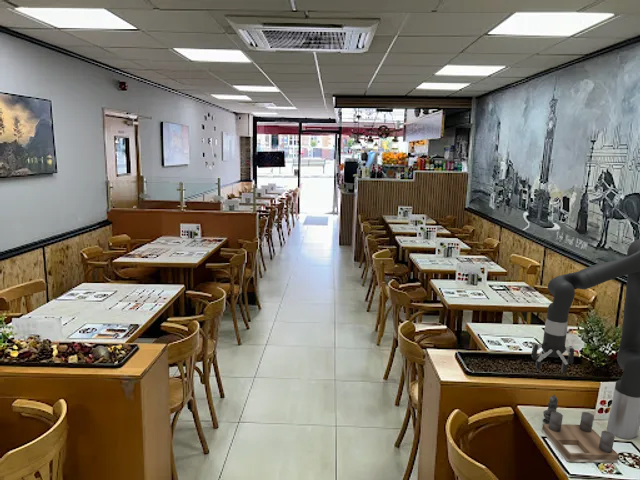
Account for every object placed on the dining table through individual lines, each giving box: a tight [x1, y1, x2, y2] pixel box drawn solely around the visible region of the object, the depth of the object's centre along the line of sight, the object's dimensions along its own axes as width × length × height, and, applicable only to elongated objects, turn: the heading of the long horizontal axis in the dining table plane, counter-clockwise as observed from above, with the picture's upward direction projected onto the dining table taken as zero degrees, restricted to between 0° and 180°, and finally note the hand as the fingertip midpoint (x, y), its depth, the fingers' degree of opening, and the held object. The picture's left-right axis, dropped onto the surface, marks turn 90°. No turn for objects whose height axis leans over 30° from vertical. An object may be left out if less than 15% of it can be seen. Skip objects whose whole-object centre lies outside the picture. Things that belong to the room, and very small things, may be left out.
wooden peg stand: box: [541, 411, 620, 464], centre depth 177 cm, size 18×18×9 cm
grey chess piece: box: [542, 394, 559, 424], centre depth 191 cm, size 6×6×12 cm
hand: (550, 371), depth 185 cm, fingers open, 8 cm apart
